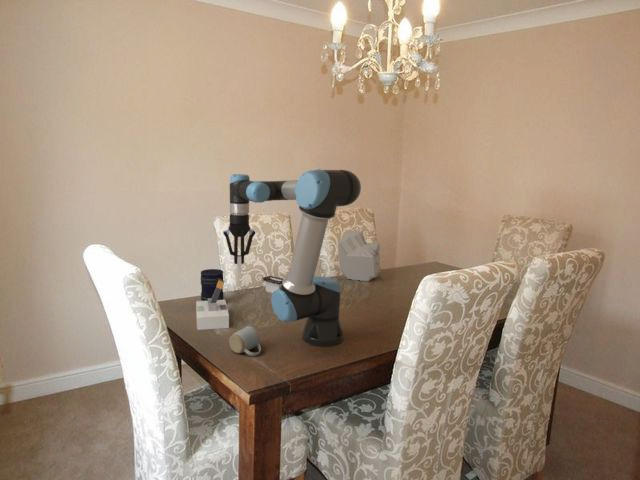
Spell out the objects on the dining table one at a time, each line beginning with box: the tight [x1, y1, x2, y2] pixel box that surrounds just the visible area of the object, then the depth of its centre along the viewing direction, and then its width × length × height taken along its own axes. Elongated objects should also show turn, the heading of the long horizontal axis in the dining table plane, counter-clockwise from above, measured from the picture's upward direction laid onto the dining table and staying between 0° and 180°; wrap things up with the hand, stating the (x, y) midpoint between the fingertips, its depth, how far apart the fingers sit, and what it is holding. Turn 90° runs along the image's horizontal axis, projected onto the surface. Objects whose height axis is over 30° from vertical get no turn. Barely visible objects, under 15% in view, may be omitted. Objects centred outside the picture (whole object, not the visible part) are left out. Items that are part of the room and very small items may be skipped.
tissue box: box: [337, 230, 382, 282], centre depth 256 cm, size 20×16×25 cm
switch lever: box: [210, 279, 225, 303], centre depth 187 cm, size 4×2×12 cm, turn 15°
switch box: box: [195, 298, 230, 331], centre depth 188 cm, size 20×12×8 cm, turn 15°
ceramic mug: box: [228, 325, 262, 357], centre depth 159 cm, size 11×8×8 cm
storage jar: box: [200, 268, 224, 301], centre depth 206 cm, size 10×10×15 cm
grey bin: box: [261, 272, 284, 294], centre depth 228 cm, size 20×25×10 cm
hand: (239, 271), depth 188 cm, fingers closed
